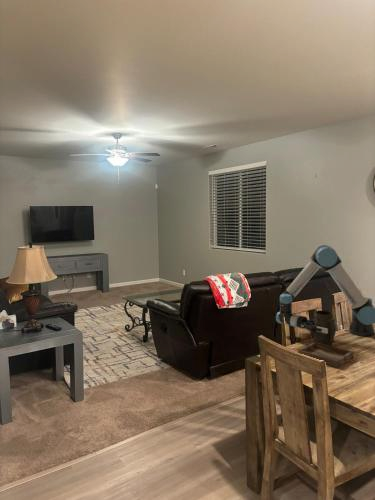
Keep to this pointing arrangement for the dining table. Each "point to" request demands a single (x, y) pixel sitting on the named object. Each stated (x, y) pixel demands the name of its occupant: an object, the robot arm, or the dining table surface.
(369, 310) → the robot arm
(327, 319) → the beer stein
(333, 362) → the walnut tray
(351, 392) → the dining table surface
